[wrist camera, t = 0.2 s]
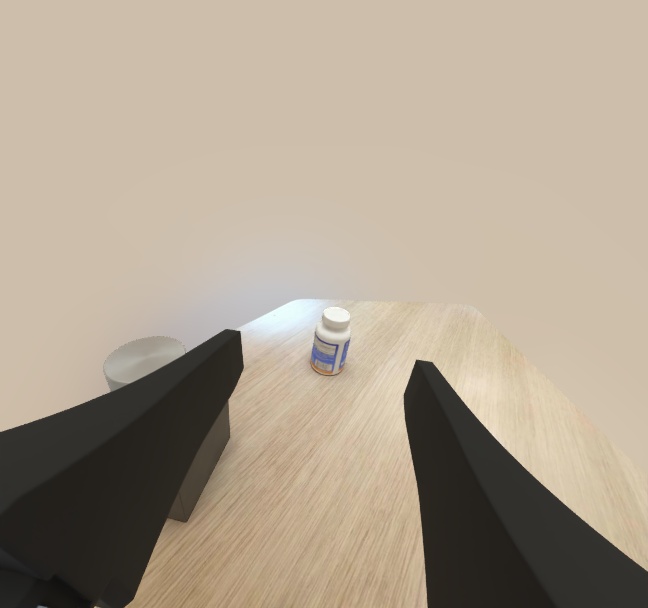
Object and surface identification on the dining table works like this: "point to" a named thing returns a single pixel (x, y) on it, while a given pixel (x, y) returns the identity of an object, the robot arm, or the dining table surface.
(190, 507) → the square coaster
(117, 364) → the can
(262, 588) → the dining table surface
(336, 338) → the pill bottle
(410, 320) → the dining table surface
